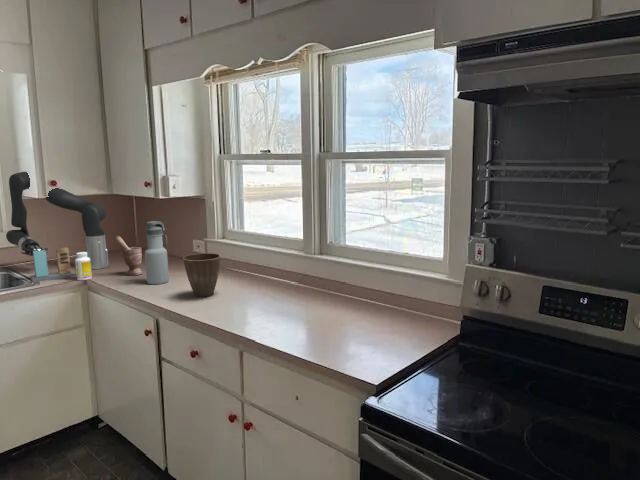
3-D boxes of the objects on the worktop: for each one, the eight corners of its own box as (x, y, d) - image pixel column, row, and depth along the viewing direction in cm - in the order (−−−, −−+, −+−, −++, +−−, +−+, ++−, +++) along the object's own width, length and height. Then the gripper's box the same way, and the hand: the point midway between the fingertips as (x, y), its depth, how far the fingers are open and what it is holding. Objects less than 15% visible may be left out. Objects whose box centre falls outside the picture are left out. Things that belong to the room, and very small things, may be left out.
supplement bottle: (94, 277, 248) (92, 251, 246) (87, 280, 241) (84, 253, 239) (81, 277, 248) (79, 251, 246) (73, 280, 242) (71, 254, 240)
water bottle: (156, 279, 241) (152, 220, 237) (174, 280, 238) (169, 220, 233) (142, 284, 232) (137, 222, 227) (160, 285, 228) (155, 223, 224)
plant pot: (229, 294, 211) (227, 256, 208) (197, 301, 201) (194, 261, 198) (210, 288, 221) (208, 251, 219) (178, 295, 211) (176, 257, 209)
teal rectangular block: (47, 274, 249) (44, 250, 247) (48, 275, 246) (45, 251, 244) (35, 275, 246) (32, 251, 244) (36, 277, 243) (33, 252, 241)
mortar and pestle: (125, 278, 244) (122, 237, 241) (115, 276, 249) (112, 235, 246) (147, 273, 253) (143, 233, 250) (137, 271, 258) (133, 232, 255)
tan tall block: (69, 271, 255) (66, 247, 253) (71, 272, 252) (68, 248, 250) (58, 272, 252) (55, 248, 250) (59, 274, 249) (57, 249, 247)
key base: (72, 272, 259) (72, 270, 259) (77, 276, 251) (76, 273, 251) (30, 278, 248) (29, 275, 248) (33, 282, 240) (32, 279, 240)
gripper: (15, 238, 262) (27, 249, 252) (43, 238, 272) (55, 248, 262) (14, 252, 264) (26, 263, 253) (41, 252, 274) (54, 262, 263)
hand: (41, 256), depth 257 cm, fingers closed
